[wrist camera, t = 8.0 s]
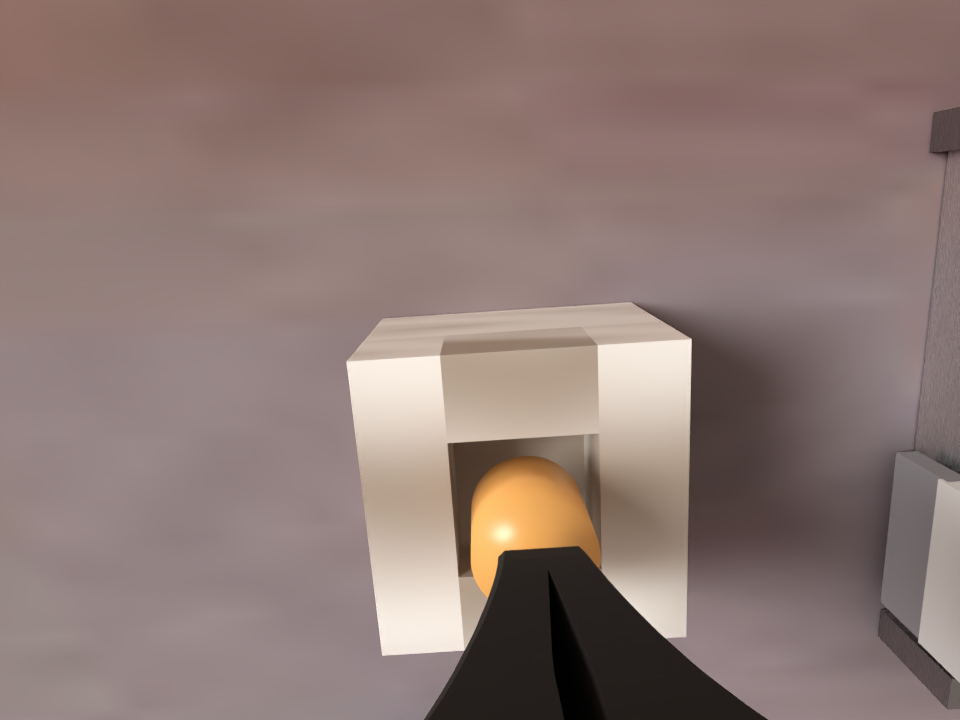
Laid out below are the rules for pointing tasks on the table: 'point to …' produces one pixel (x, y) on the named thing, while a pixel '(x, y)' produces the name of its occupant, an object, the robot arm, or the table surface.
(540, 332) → the cream cage with ball
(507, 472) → the plunger
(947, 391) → the rail
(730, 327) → the table surface
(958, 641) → the block
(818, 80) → the table surface
